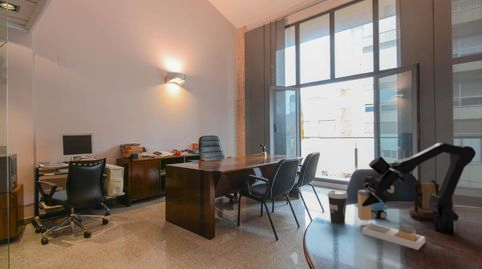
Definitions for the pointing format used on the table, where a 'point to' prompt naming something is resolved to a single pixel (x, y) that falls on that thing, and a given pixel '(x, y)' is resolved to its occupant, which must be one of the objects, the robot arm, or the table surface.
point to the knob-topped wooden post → (363, 212)
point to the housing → (392, 236)
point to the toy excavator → (380, 208)
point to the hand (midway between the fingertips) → (361, 204)
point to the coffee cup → (337, 206)
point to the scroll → (424, 200)
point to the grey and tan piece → (407, 232)
